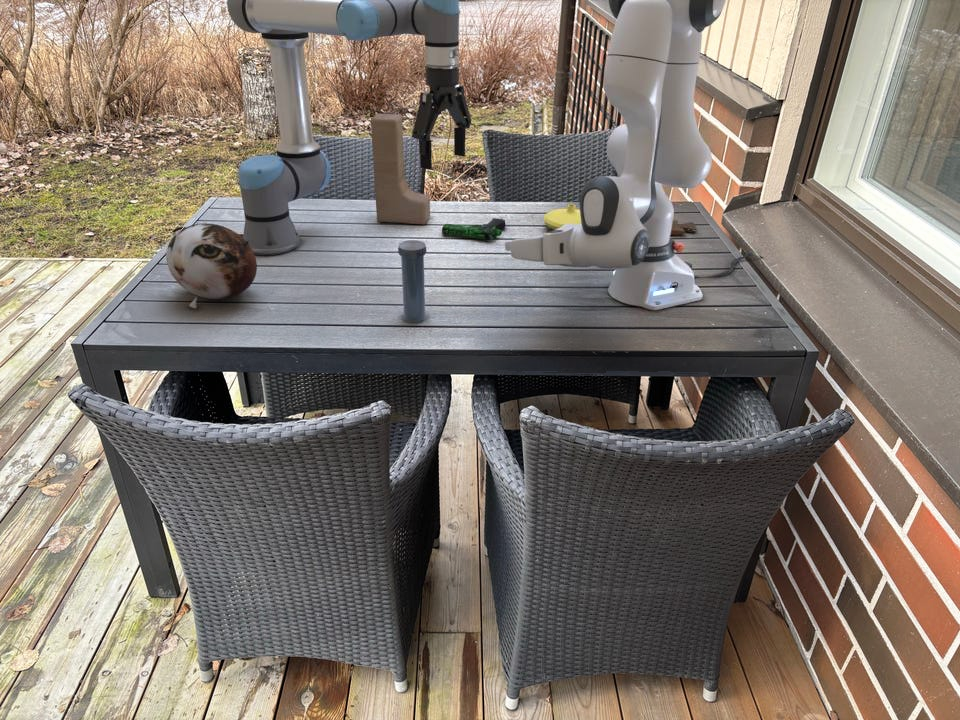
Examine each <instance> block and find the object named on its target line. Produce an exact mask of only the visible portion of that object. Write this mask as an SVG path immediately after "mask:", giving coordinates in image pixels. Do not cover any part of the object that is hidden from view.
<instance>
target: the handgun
mask: <svg viewBox="0 0 960 720" xmlns="http://www.w3.org/2000/svg"><path fill="white" fill-rule="evenodd" d="M505 228H506V220H505V219H503V218H497V217H492V219H491V220H490V221H489V222H488V223H483V224H482V225H479V224H472V225H459V224H453V223H445V224H443V226H442V227H441V235H446V236H454V237H462V238H469V239H470V238H471V239H474V240H479V241H484V242H491V241H492V240H494V239H495V238H497V237H500V236H502V230H504V229H505Z"/></svg>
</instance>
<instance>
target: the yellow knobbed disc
mask: <svg viewBox="0 0 960 720" xmlns="http://www.w3.org/2000/svg"><path fill="white" fill-rule="evenodd" d="M543 222H544V225H545V226H546V227H548V228H550V229H551V230H553V231H554V230H556V229H558V228H560V227H562V226H563V225H565V224H581V216H580V208H576V205H575V204H571V203H570V204H567V208H557V209H552V210H549V211H548V212H547V213H545V214H544V216H543Z"/></svg>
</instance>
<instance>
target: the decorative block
mask: <svg viewBox="0 0 960 720" xmlns="http://www.w3.org/2000/svg"><path fill="white" fill-rule="evenodd" d="M370 129H371V148H372V165H373V178H374V179H373V180H374V196H375V210H376V221H377V222H380V223H396V224H412V225H426V224H427V222H428V220H429V219H430V217H431V197H430V195H428V194H425V193H419V192H416V191H414V190H413V189H411V188H410V187H409V185H408V182H407V180H406V176H405V157H404V156H405V155H404V154H405V153H404V129H403V116H402V114H399V113H398V114H397V113H376V114H375V115H374V116H373V117H372V118H371V119H370Z"/></svg>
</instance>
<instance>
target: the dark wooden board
mask: <svg viewBox="0 0 960 720" xmlns="http://www.w3.org/2000/svg"><path fill="white" fill-rule="evenodd" d="M682 228H683V229H682ZM688 229H689V230H688ZM693 230H696V231H697V228H696V224H695V223H694V222H691V221H690V222H683V223H682V222H681V223H679V221H678V220H674V219H673V222H672V228H671V235H685V233H686V232H687V233H696V231H693Z"/></svg>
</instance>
